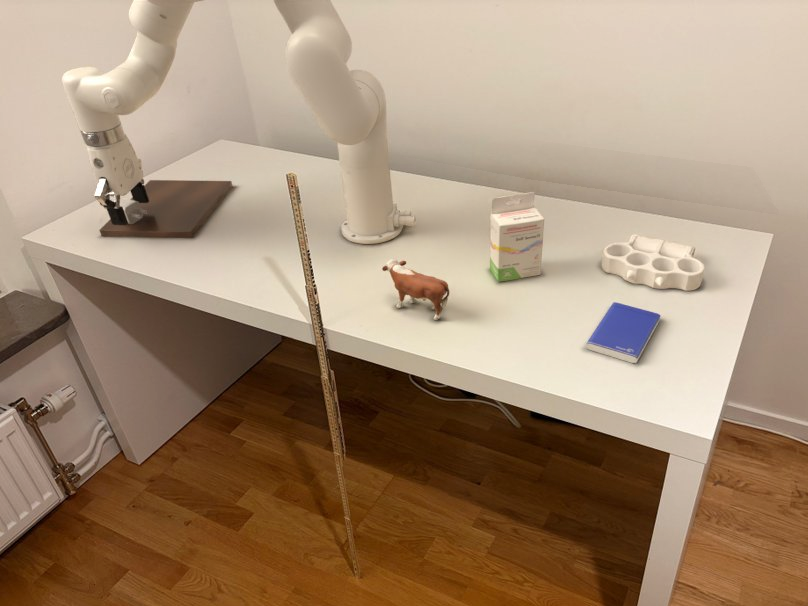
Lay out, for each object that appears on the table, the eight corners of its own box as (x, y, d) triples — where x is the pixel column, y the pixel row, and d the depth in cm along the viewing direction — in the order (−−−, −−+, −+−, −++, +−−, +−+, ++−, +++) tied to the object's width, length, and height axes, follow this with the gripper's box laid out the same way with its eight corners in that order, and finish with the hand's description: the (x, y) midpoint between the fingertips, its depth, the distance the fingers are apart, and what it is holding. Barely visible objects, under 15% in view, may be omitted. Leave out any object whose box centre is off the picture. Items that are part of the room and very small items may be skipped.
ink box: (497, 283, 126) (498, 210, 117) (489, 269, 130) (489, 197, 120) (542, 275, 127) (546, 202, 118) (532, 261, 131) (535, 190, 122)
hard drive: (637, 356, 106) (661, 313, 114) (586, 341, 109) (613, 301, 117) (636, 364, 107) (659, 321, 115) (585, 349, 110) (612, 308, 118)
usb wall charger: (128, 213, 150) (122, 196, 147) (153, 218, 147) (147, 201, 145) (114, 222, 147) (108, 205, 145) (139, 227, 145) (133, 210, 142)
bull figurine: (394, 290, 125) (390, 251, 120) (455, 313, 119) (453, 273, 114) (378, 302, 122) (373, 262, 117) (440, 326, 116) (438, 285, 111)
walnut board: (232, 186, 162) (231, 180, 161) (192, 238, 143) (190, 231, 142) (151, 185, 164) (150, 179, 163) (101, 236, 145) (99, 230, 144)
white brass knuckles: (710, 261, 129) (693, 302, 119) (616, 241, 136) (592, 278, 126) (714, 245, 127) (697, 286, 117) (618, 226, 134) (594, 262, 124)
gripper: (99, 152, 129) (129, 233, 139) (141, 118, 142) (165, 194, 153) (61, 152, 129) (94, 233, 140) (107, 118, 143) (133, 194, 154)
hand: (131, 213), depth 146 cm, fingers open, 9 cm apart
